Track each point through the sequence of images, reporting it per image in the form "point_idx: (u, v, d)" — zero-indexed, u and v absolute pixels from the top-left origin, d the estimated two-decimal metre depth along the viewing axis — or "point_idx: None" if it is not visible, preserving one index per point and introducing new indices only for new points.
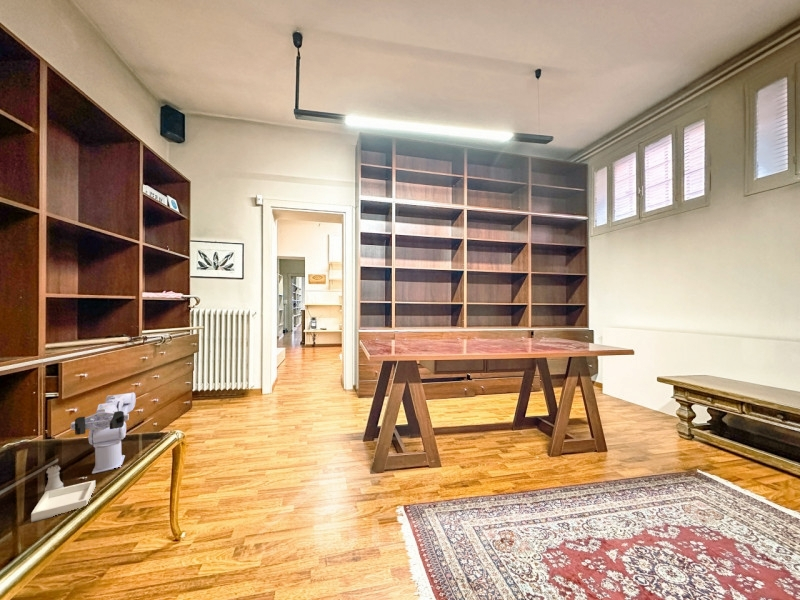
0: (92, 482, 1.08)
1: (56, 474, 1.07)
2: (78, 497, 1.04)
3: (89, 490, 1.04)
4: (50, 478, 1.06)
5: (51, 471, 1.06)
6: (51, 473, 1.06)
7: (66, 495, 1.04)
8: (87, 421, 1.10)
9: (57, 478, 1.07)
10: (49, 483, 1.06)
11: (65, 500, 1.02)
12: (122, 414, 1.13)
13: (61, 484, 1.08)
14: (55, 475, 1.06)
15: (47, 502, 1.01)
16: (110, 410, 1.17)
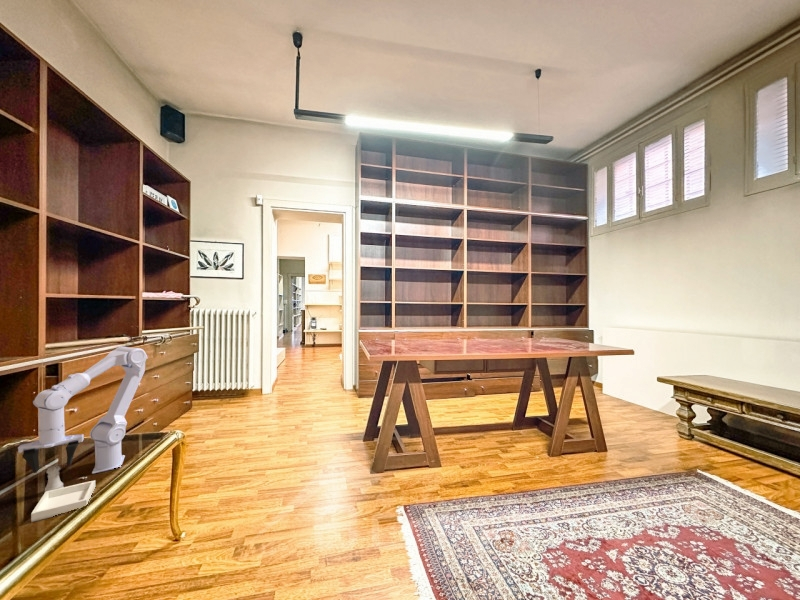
0: (92, 482, 1.08)
1: (56, 474, 1.07)
2: (78, 497, 1.04)
3: (89, 490, 1.04)
4: (50, 478, 1.06)
5: (51, 471, 1.06)
6: (51, 473, 1.06)
7: (66, 495, 1.04)
8: None
9: (57, 478, 1.07)
10: (49, 483, 1.06)
11: (65, 500, 1.02)
12: (76, 447, 1.08)
13: (61, 484, 1.08)
14: (55, 475, 1.06)
15: (47, 502, 1.01)
16: (57, 430, 1.05)
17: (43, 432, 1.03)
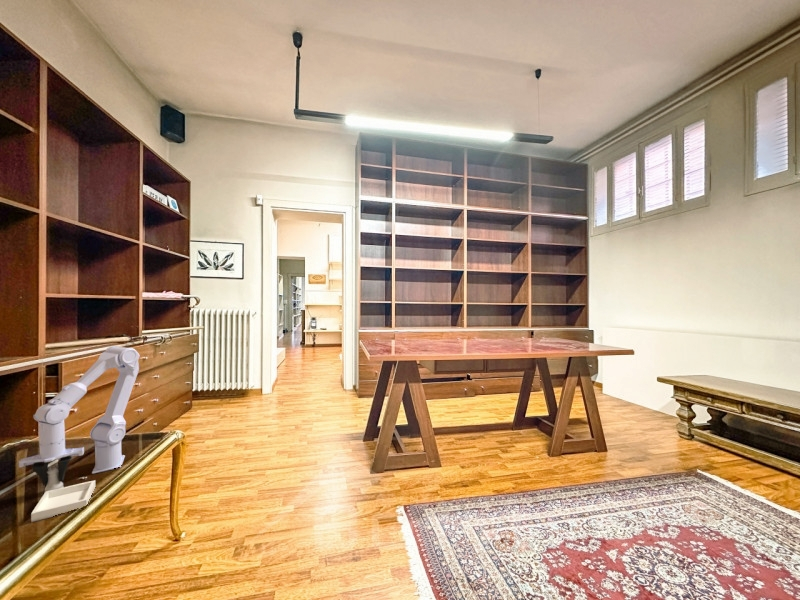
0: (92, 482, 1.08)
1: (56, 474, 1.07)
2: (78, 497, 1.04)
3: (89, 490, 1.04)
4: (50, 478, 1.06)
5: (51, 471, 1.06)
6: (51, 473, 1.06)
7: (66, 495, 1.04)
8: None
9: (57, 478, 1.07)
10: (49, 483, 1.06)
11: (65, 500, 1.02)
12: (68, 462, 1.07)
13: (61, 484, 1.08)
14: (55, 475, 1.06)
15: (47, 502, 1.01)
16: (58, 444, 1.05)
17: (44, 446, 1.03)
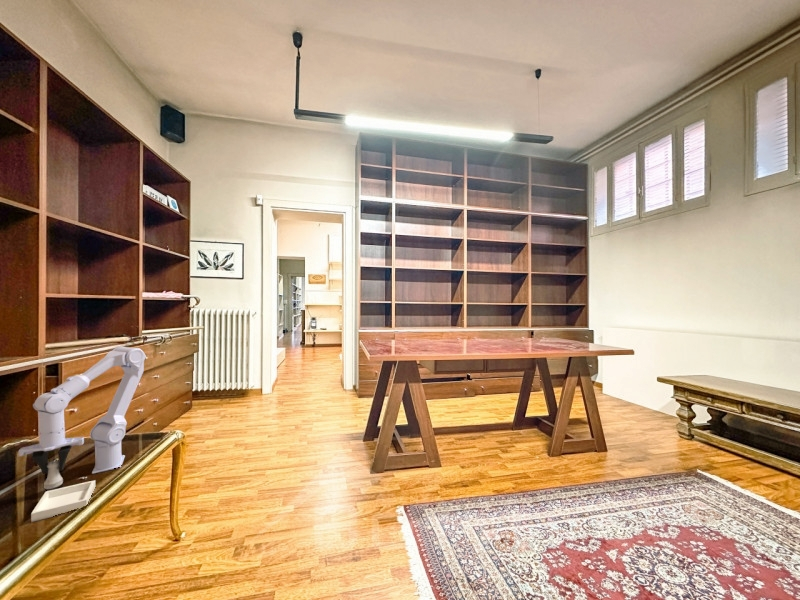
0: (92, 482, 1.08)
1: (55, 468, 1.06)
2: (78, 497, 1.04)
3: (89, 490, 1.04)
4: (49, 472, 1.06)
5: (50, 465, 1.05)
6: (50, 467, 1.06)
7: (66, 495, 1.04)
8: None
9: (56, 473, 1.07)
10: (48, 477, 1.06)
11: (65, 500, 1.02)
12: (68, 451, 1.07)
13: (60, 479, 1.07)
14: (54, 469, 1.06)
15: (47, 502, 1.01)
16: (57, 434, 1.05)
17: (43, 435, 1.03)
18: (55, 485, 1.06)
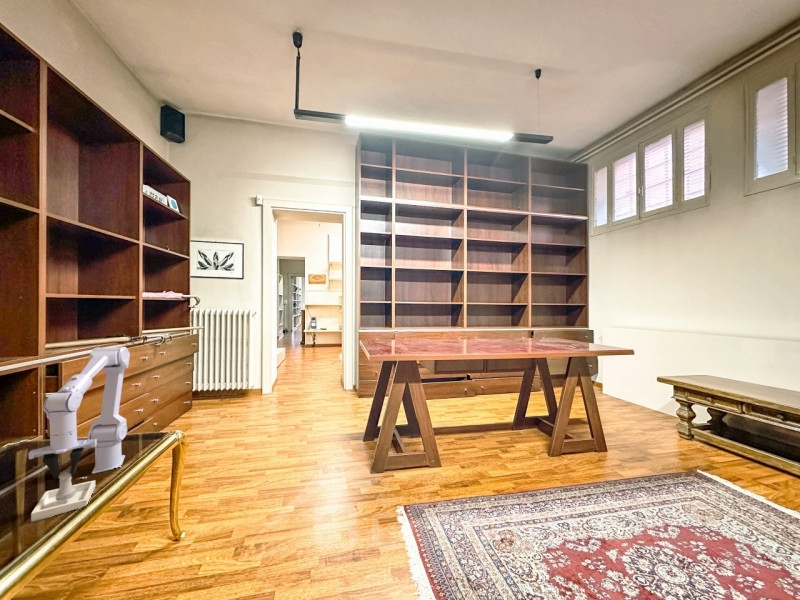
0: (92, 482, 1.08)
1: (68, 479, 1.01)
2: (78, 497, 1.04)
3: (89, 490, 1.04)
4: (61, 483, 1.00)
5: (62, 476, 1.00)
6: (62, 478, 1.00)
7: None
8: None
9: (69, 483, 1.01)
10: (60, 488, 1.00)
11: (65, 500, 1.02)
12: (80, 454, 1.01)
13: (73, 490, 1.02)
14: (66, 480, 1.01)
15: (47, 502, 1.01)
16: (69, 435, 0.99)
17: (55, 437, 0.97)
18: (68, 496, 1.00)
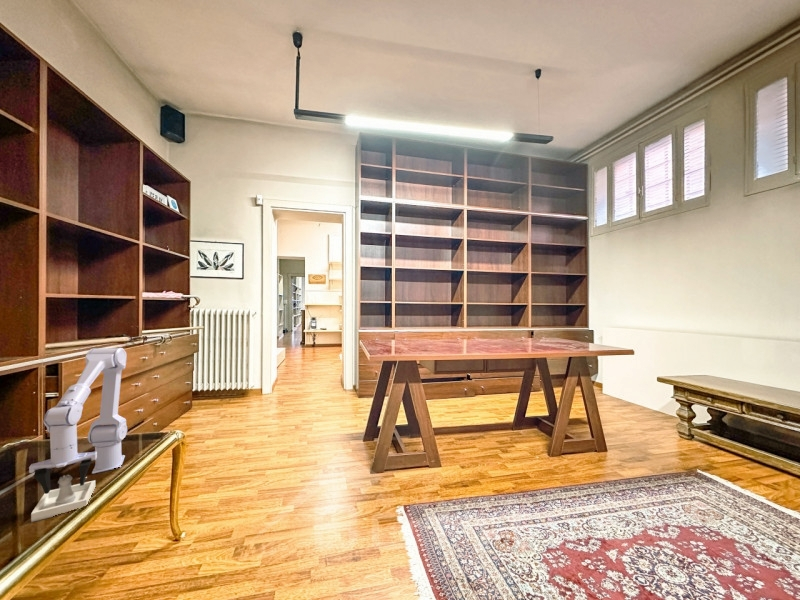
0: (92, 482, 1.08)
1: (67, 484, 1.01)
2: (78, 497, 1.04)
3: (89, 490, 1.04)
4: (61, 488, 1.00)
5: (62, 481, 1.00)
6: (62, 483, 1.00)
7: None
8: None
9: (68, 489, 1.01)
10: (60, 494, 1.00)
11: None
12: (89, 465, 1.03)
13: (73, 495, 1.02)
14: (66, 485, 1.00)
15: (47, 502, 1.01)
16: (70, 449, 1.00)
17: (55, 451, 0.98)
18: (67, 502, 1.00)
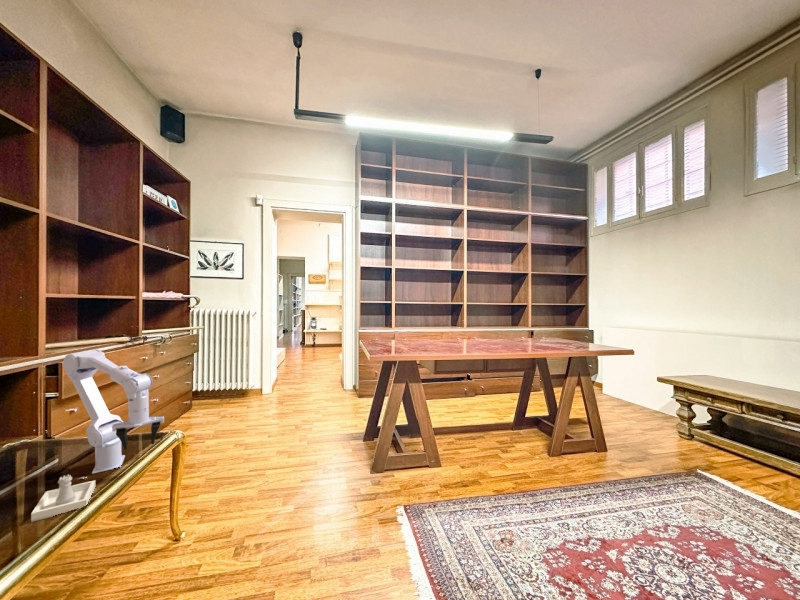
0: (92, 482, 1.08)
1: (67, 484, 1.01)
2: (78, 497, 1.04)
3: (89, 490, 1.04)
4: (61, 488, 1.00)
5: (62, 481, 1.00)
6: (62, 483, 1.00)
7: None
8: None
9: (68, 489, 1.01)
10: (60, 494, 1.00)
11: None
12: None
13: (73, 495, 1.02)
14: (66, 485, 1.00)
15: (47, 502, 1.01)
16: (144, 412, 1.17)
17: (133, 413, 1.15)
18: (67, 502, 1.00)
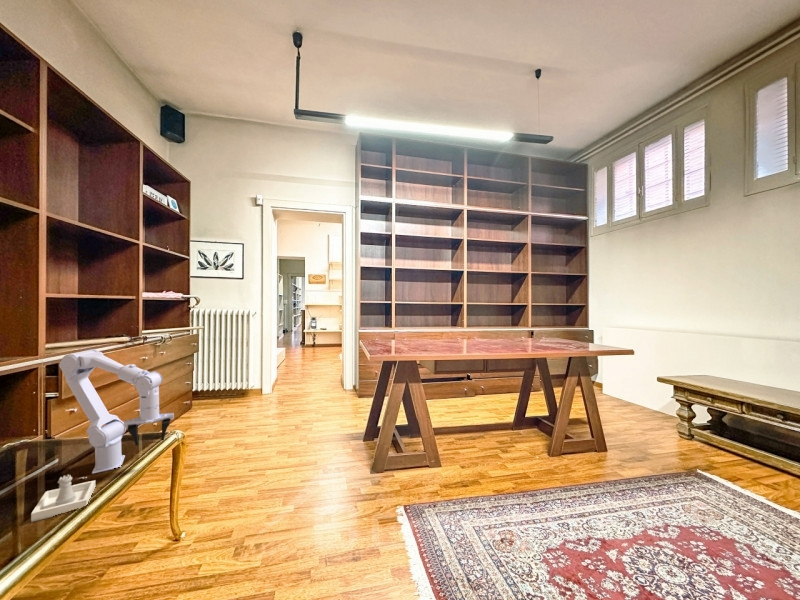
0: (92, 482, 1.08)
1: (67, 484, 1.01)
2: (78, 497, 1.04)
3: (89, 490, 1.04)
4: (61, 488, 1.00)
5: (62, 481, 1.00)
6: (62, 483, 1.00)
7: None
8: None
9: (68, 489, 1.01)
10: (60, 494, 1.00)
11: None
12: None
13: (73, 495, 1.02)
14: (66, 485, 1.00)
15: (47, 502, 1.01)
16: (155, 409, 1.20)
17: (144, 410, 1.18)
18: (67, 502, 1.00)
